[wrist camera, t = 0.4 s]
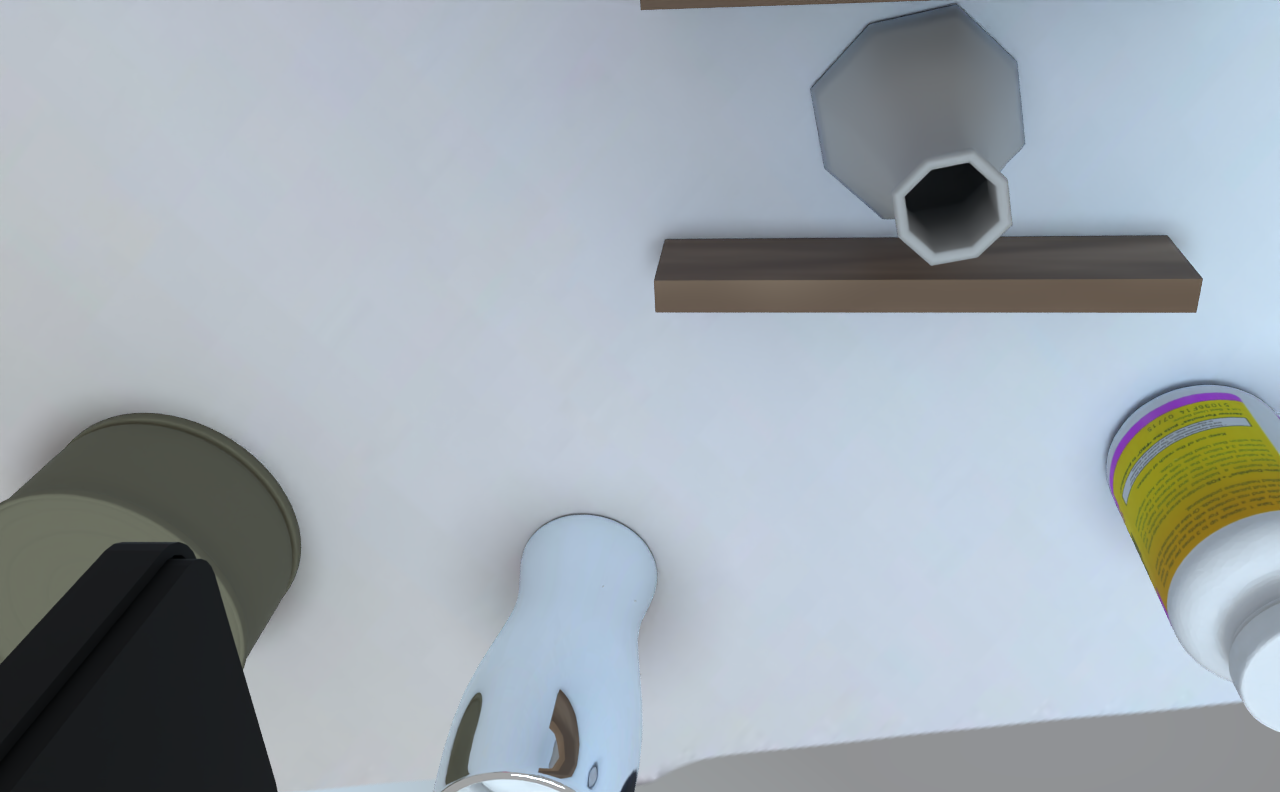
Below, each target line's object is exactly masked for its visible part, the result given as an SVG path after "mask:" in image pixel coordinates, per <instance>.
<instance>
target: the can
mask: <svg viewBox="0 0 1280 792" xmlns="http://www.w3.org/2000/svg"><path fill="white" fill-rule="evenodd" d="M120 542H181V543H184V544H186V545H188V546H189V547H190V549H191V550H192V551H193V552H194V554H195V556H196V559H203V560H206V561H207V562H208V563H209V564H210V565H211V566H212V569H213V571H214V573H215V576H216V580H217V583H218V587H219V590H220V594H221V597H222V600H223V604H224V607H225V611H226V614H227V618H228V621H229V624H230V628H231V631H232V635H233V638H234V642H235V645H236V648H237V652H238V655H239V659H240V662H241V665H242V669H243V668H244V665H245V662H246V658H247V657H248V655H249V653H250V652H251V650H252V648H253V647H254V645H255V643H256V642H257V640H258V638H259V636H260V635H261V633H262V631H263V630H264V628H265V626H266V625H267V623H268V621H269V620H270V618H271V616H272V615H273V613H274V611H275V610H276V608H277V606H278V604H279V603H280V601H281V599H282V598H283V596H284V595H285V593H286V592H287V590H288V589H289V587H290V586H291V584H292V582H293V580H294V578H295V575H296V573H297V570H298V566H299V561H300V554H301V539H300V532H299V526H298V523H297V519H296V516H295V513H294V511H293V508H292V506H291V504H290V502H289V500H288V498H287V496H286V494H285V493H284V491H283V490H282V488H281V486H280V485H279V484H278V482H277V481H276V480H275V478H274V477H273V476H272V475H271V473H270V472H269V471H268V470H267V469H266V468H265V467H264V466H263V465H262V464H261V463H260V462H259V461H258V460H257V459H256V458H255V457H254V456H253V455H251V454H250V453H249V452H248V451H247V450H245V449H244V448H243V447H241V446H240V445H238V444H237V443H236V442H234V441H233V440H231V439H229V438H228V437H226V436H224V435H223V434H221V433H219V432H217V431H215V430H213V429H211V428H209V427H206V426H204V425H201V424H199V423H196V422H193V421H190V420H187V419H183V418H179V417H175V416H170V415H163V414H154V413H133V414H125V415H120V416H115V417H111V418H108V419H106V420H103V421H100V422H98V423H96V424H94V425H92V426H90V427H89V428H87V429H86V430H84V431H83V432H81V433H80V434H79V435H78V436H77V437H76V438H74V439H73V440H72V441H71V442H70V443H69V444H68V445H67V447H66V448H65V449H64V450H63V451H61V452H60V453H59V454H58V455H57V456H56V457H54V458H53V459H52V460H51V461H50V462H49V463H48V464H47V465H45V466H44V467H43V468H42V469H41V470H40V471H39V472H38V473H37V474H36V475H34V476H33V477H32V478H31V479H30V480H29V481H28V482H27V483H26V484H25V485H23V486H22V487H21V488H20V489H19V490H18V491H17V492H16V493H14V494H13V495H12V496H11V497H10V498H9V499H7V500H5V501H3V502H1V503H0V664H1V663H2V662H3V661H4V660H5V658H6V657H7V656H8V655H9V654H10V653H11V652H12V651H13V650H14V649H15V648H16V647H17V645H18V644H19V643H20V642H21V641H22V640H23V639H24V638H25V637H26V636H27V635H28V634H29V632H30V631H31V630H32V629H33V628H34V627H35V626H36V625H37V624H38V623H39V622H40V621H41V619H42V618H43V617H44V616H45V615H46V614H47V613H48V612H49V611H50V610H51V609H52V607H53V606H54V605H55V604H56V603H57V602H58V601H59V600H60V599H61V598H62V597H63V596H64V594H65V593H66V592H67V591H68V590H69V589H70V588H71V587H72V586H73V585H74V584H75V583H76V581H77V580H78V579H79V578H80V577H81V576H82V575H83V574H84V573H85V572H86V571H87V570H88V568H89V567H90V566H91V565H92V564H93V563H94V562H95V561H96V560H97V559H98V558H99V556H100V555H101V554H102V553H103V552H104V551H105V550H106V549H108V548H109V547H110V546H112V545H113V544H115V543H120Z"/></svg>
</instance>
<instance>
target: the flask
mask: <svg viewBox="0 0 1280 792" xmlns="http://www.w3.org/2000/svg"><path fill="white" fill-rule="evenodd" d="M810 90H811V96H812V101H813V107H814V112H815V118H816V124H817V129H818V135H819V140H820V146H821V152H822V157H823V163H824V168H825V169H826V170H827V171H828V172H829V173H830V174H832V175H833V176H834V177H835V178H836V179H837V180H838V181H840V182H841V183H842V184H843V185H844V186H845V187H846V188H848V189H849V190H850V191H851V192H852V193H853V194H855V195H856V196H857V197H858V198H859V199H860V200H861V201H863V202H864V203H865V204H866V205H867V206H868V207H869V208H871V209H872V210H873V211H874V212H875V213H876V214H877V215H879V216H880V217H881V218H882V219H895V221H896V228H897V234H898V237H899V238H900V239H901V240H902V241H903V242H904V243H906V244H907V245H908V246H909V247H910V248H911V249H912V250H914V251H915V252H916V253H917V254H918V255H919V256H920V257H922V258H923V259H924V260H925V261H926V262H927V263H929V264H930V265H931V266H933V265H939V264H944V263H950V262H955V261H961V260H966V259H972V258H977V257H979V256H980V255H981V254H982V253H983V252H984V251H985V250H986V249H987V248H988V247H989V246H990V245H991V244H993V243H994V242H995V241H996V240H997V239H998V238H999V237H1000V236H1001V235H1002V234H1003V233H1004V232H1005V231H1007V230H1008V229H1009V228H1010V227H1011V226H1012V216H1011V207H1010V197H1009V188H1008V180H1007V178H1006V177H1005V176H1004V175H1003V174H1002V173H1000V171H1001V170H1002V169H1003V167H1004V166H1005V165H1006V164H1007V162H1009V161H1010V160H1011V159H1012V158H1013V157H1014V156H1015V155H1016V154H1017V153H1018V152H1019V151H1020V150H1021V149H1022V147H1023V146H1024V145H1025V136H1024V126H1023V115H1022V105H1021V95H1020V84H1019V74H1018V64H1017V61H1016V60H1015V59H1014V58H1013V57H1012V56H1011V55H1010V54H1009V53H1007V52H1006V51H1005V50H1004V49H1003V48H1002V47H1001V46H1000V45H999V44H998V43H997V42H996V41H995V40H994V39H993V38H992V37H991V36H990V35H988V34H987V33H986V32H985V31H984V30H983V29H982V28H981V27H980V26H979V25H978V24H977V23H976V22H975V21H974V20H973V19H972V18H971V17H970V16H968V15H967V14H966V13H965V12H964V11H963V10H962V9H961V8H960V7H959V6H958V5H957V4H956V5H952V6H948V7H943V8H939V9H934V10H930V11H926V12H921V13H917V14H912V15H908V16H904V17H899V18H895V19H891V20H886V21H882V22H877V23H873V24H869V25H868V26H867V28H866V29H865V30H864V31H863V32H862V33H861V34H860V35H859V36H858V37H857V39H856V40H855V41H854V42H853V43H852V44H851V45H850V46H849V47H848V49H847V50H846V51H845V52H844V53H843V54H842V55H841V56H840V57H839V58H838V60H837V61H836V62H835V63H834V64H833V65H832V66H831V67H830V68H829V69H828V71H827V72H826V73H825V74H824V75H823V76H822V77H821V78H820V79H819V81H818V82H817V83H816V84H815V85H814V86H813V87H812V88H811V89H810Z"/></svg>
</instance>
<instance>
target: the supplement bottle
mask: <svg viewBox="0 0 1280 792" xmlns="http://www.w3.org/2000/svg"><path fill="white" fill-rule="evenodd" d="M1106 473H1107V481H1108V485H1109V488H1110V491H1111V494H1112V496H1113V498H1114V501H1115V503H1116V505H1117V508H1118V510H1119V512H1120V514H1121V516H1122V518H1123V520H1124V523H1125V525H1126V527H1127V529H1128V532H1129V534H1130V536H1131V538H1132V540H1133V542H1134V544H1135V547H1136V549H1137V551H1138V553H1139V555H1140V558H1141V560H1142V562H1143V564H1144V566H1145V569H1146V571H1147V573H1148V575H1149V577H1150V580H1151V582H1152V584H1153V586H1154V588H1155V590H1156V593H1157V595H1158V597H1159V599H1160V601H1161V604H1162V606H1163V608H1164V610H1165V613H1166V615H1167V617H1168V619H1169V621H1170V624H1171V626H1172V628H1173V630H1174V632H1175V634H1176V636H1177V638H1178V640H1179V642H1180V643H1181V645H1182V646H1183V648H1184V649H1185V650H1186V652H1187V653H1188V654H1189V655H1190V656H1191V657H1192V658H1193V659H1194V660H1195V661H1196V662H1197V663H1199V664H1200V665H1201V666H1202V667H1204V668H1205V669H1207V670H1208V671H1210V672H1211V673H1213V674H1215V675H1217V676H1219V677H1221V678H1223V679H1225V680H1227V681H1230V682H1233V684H1234V686H1235V688H1236V690H1237V692H1238V694H1239V695H1240V697H1241V699H1242V701H1243V703H1244V705H1245V707H1246V708H1247V709H1248V711H1249V712H1250V713H1251V714H1252V715H1253V717H1254V718H1255V719H1257V720H1258V721H1259V722H1261V723H1262V724H1263V725H1265V726H1267V727H1269V728H1271V729H1273V730H1275V731H1278V732H1280V418H1279V416H1278V415H1277V414H1276V413H1275V412H1274V411H1273V410H1272V409H1271V408H1270V407H1269V406H1268V405H1267V404H1266V403H1265V402H1263V401H1262V400H1260V399H1259V398H1257V397H1255V396H1253V395H1252V394H1249V393H1247V392H1245V391H1242V390H1239V389H1236V388H1232V387H1227V386H1220V385H1197V386H1190V387H1184V388H1180V389H1176V390H1173V391H1170V392H1168V393H1165V394H1163V395H1160V396H1158V397H1156V398H1154V399H1153V400H1151V401H1149V402H1148V403H1146V404H1144V405H1143V406H1141V407H1140V408H1139V409H1138V410H1136V411H1135V412H1134V413H1133V414H1132V415H1131V416H1130V417H1129V418H1128V419H1127V420H1126V421H1125V422H1124V424H1123V425H1122V426H1121V428H1120V429H1119V431H1118V432H1117V434H1116V435H1115V437H1114V439H1113V441H1112V444H1111V446H1110V449H1109V453H1108V457H1107V464H1106Z"/></svg>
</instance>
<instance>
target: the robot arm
mask: <svg viewBox="0 0 1280 792" xmlns="http://www.w3.org/2000/svg"><path fill="white" fill-rule="evenodd" d="M0 792H277V786H276V782H275V779H274V775H273V772H272V768H271V765H270V761H269V758H268V755H267V751H266V748H265V744H264V741H263V737H262V734H261V731H260V727H259V724H258V720H257V717H256V713H255V710H254V707H253V703H252V700H251V696H250V693H249V689H248V686H247V683H246V679H245V676H244V672H243V669H242V665H241V662H240V659H239V655H238V652H237V648H236V645H235V642H234V638H233V635H232V631H231V628H230V624H229V621H228V618H227V614H226V611H225V607H224V604H223V600H222V597H221V594H220V590H219V587H218V583H217V580H216V576H215V573H214V571H213V569H212V566H211V565H210V564H209V563H208V562H207V561H206V560H203V559H196V556H195V554H194V552H193V551H192V550H191V549H190V547H189V546H188V545H186V544H184V543H181V542H120V543H115V544H113V545H112V546H110V547H109V548H108V549H106V550H105V551H104V552H103V553H102V554H101V555H100V556H99V558H98V559H97V560H96V561H95V562H94V563H93V564H92V565H91V566H90V567H89V568H88V570H87V571H86V572H85V573H84V574H83V575H82V576H81V577H80V578H79V579H78V580H77V581H76V583H75V584H74V585H73V586H72V587H71V588H70V589H69V590H68V591H67V592H66V593H65V594H64V596H63V597H62V598H61V599H60V600H59V601H58V602H57V603H56V604H55V605H54V606H53V607H52V609H51V610H50V611H49V612H48V613H47V614H46V615H45V616H44V617H43V618H42V619H41V621H40V622H39V623H38V624H37V625H36V626H35V627H34V628H33V629H32V630H31V631H30V632H29V634H28V635H27V636H26V637H25V638H24V639H23V640H22V641H21V642H20V643H19V644H18V645H17V647H16V648H15V649H14V650H13V651H12V652H11V653H10V654H9V655H8V656H7V657H6V658H5V660H4V661H3V662H2V663H1V664H0Z"/></svg>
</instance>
